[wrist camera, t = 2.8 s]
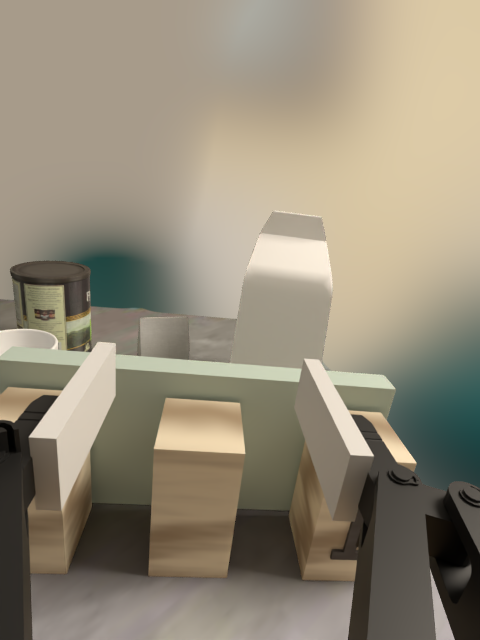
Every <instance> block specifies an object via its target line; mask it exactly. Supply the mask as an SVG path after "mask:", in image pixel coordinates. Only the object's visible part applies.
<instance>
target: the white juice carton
mask: <svg viewBox="0 0 480 640" xmlns="http://www.w3.org/2000/svg"><path fill="white" fill-rule="evenodd" d="M189 351H190V345H189V318H188V317H150V318H140V321H139V332H138V346H137V356H144V357H157V358H169V359H182V360H189Z"/></svg>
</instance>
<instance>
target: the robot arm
mask: <svg viewBox="0 0 480 640" xmlns="http://www.w3.org/2000/svg"><path fill="white" fill-rule="evenodd" d="M115 396H116V343H105V342H98V343H97V344H96V346H95V347H94V349H93V350H92V351H91V353H90V354H89V355H88V357H87V358H86V359H85V361H84V362H83V364H82V365H81V366H80V368H79V369H78V370H77V372H76V373H75V375H74V376H73V377H72V379H71V380H70V381H69V383H68V384H67V385H66V387H65V388H64V390H63V391H62V392H61V394H60V395H59V396H55V395H42V396H41V397H39V398H37V399H36V400H34V401H32V402H31V403H30V404H29V406H28V407H27V408H26V409H25V410H24V413H22V414H21V415H20V416H19V418H18V420H16V421H15V422H12V421H7V420H0V640H32V612H31V581H30V550H29V519H28V509H27V508H28V507H29V505H30V503H31V502H32V500H33V498H34V496H35V506H36V510H54V511H62V508H63V506H64V504H65V502H66V500H67V498H68V496H69V494H70V491H71V489H72V487H73V485H74V483H75V481H76V479H77V476H78V474H79V472H80V470H81V468H82V466H83V464H84V462H85V459H86V457H87V455H88V453H89V451H90V449H91V447H92V445H93V442H94V440H95V438H96V436H97V434H98V432H99V430H100V428H101V425H102V423H103V421H104V419H105V417H106V415H107V413H108V410H109V408H110V406H111V404H112V402H113V400H114V398H115ZM294 409H295V412H296V415H297V418H298V420H299V423H300V426H301V429H302V432H303V435H304V438H305V441H306V444H307V447H308V450H309V453H310V456H311V459H312V462H313V465H314V468H315V471H316V473H317V476H318V479H319V482H320V485H321V488H322V491H323V494H324V497H325V500H326V503H327V506H328V509H329V512H330V515H331V518H332V521H349V522H355V518H356V515H357V512H358V508H359V510H360V513H361V515H362V517H363V523H362V526H361V529H360V533H359V536H358V539H357V542H356V545H355V546H356V547H358V556H357V565H356V574H355V582H354V591H353V600H352V609H351V617H350V626H349V635H348V640H436V633H435V622H434V610H433V599H432V587H431V576H430V569H431V572H432V575H433V578H434V581H435V584H436V587H437V589H438V592H439V595H440V598H441V601H442V604H443V607H444V610H445V612H446V615H447V618H448V621H449V624H450V627H451V630H452V633H453V635H454V638H455V640H480V489H479V488H478V487H476V486H474V485H472V484H469V483H465V482H456V481H455V482H453V483H451V484H450V485H449V487H448V490H447V491H443V490H440V489H436V488H432V487H429V486H426V485H424V484H422V482H421V480H420V478H419V477H418V476H417V475H416V474H415V473H414V472H413V471H411V470H410V469H409V468H407V467H404V466H402V465H400V464H398V463H397V462H396V460H395V459H394V457H393V456H392V454H391V452H390V451H389V449H388V448H387V446H386V445H385V443H384V441H382V438H381V437H380V435H379V434H378V433H377V430H376V429H375V427H374V426H373V424H372V423H371V422H370V421H369V420H368V419H366V418H365V417H364V416H363V415H356V414H350V413H349V411H348V409H347V408H346V406H345V404H344V402H343V401H342V399H341V397H340V395H339V394H338V392H337V390H336V388H335V387H334V385H333V383H332V381H331V380H330V378H329V376H328V374H327V373H326V371H325V369H324V367H323V365H322V364H321V362H320V360H316V359H303V364H302V370H301V375H300V380H299V385H298V390H297V395H296V400H295V405H294Z"/></svg>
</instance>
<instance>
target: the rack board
mask: <svg viewBox="0 0 480 640" xmlns="http://www.w3.org/2000/svg"><path fill="white" fill-rule="evenodd" d="M90 353H91V352H80V351H67V350H54V349H41V348H28V347H16V346H12V347H11V348H10V349H8V350H7V351H6V352H5V353H3V354H2V355H1V356H0V395H1V394H2V393H3V392H4V391H5V390H6V389H7V388H8V387H17V388H31V389H46V390H61V391H63V390H64V388H65V387H66V385H67V384H68V383H69V381H70V380H71V379H72V377H73V376H74V375H75V373H76V372H77V370H78V369H79V368H80V366H81V365H82V364H83V362H84V361H85V359H86V358H87V357H88V355H89V354H90ZM301 370H302V369H297V368H285V367H272V366H259V365H246V364H233V363H221V362H208V361H195V360H182V359H169V358H157V357H144V356H131V355H118V354H116V396H115V398H114V400H113V402H112V404H111V406H110V408H109V410H108V413H107V415H106V417H105V419H104V421H103V423H102V425H101V428H100V430H99V432H98V434H97V436H96V438H95V440H94V442H93V445H92V447H91V449H90V460H91V494H92V503H109V504H134V505H151V503H152V480H153V457H154V446H155V442H156V438H157V433H158V429H159V425H160V421H161V416H162V412H163V408H164V404H165V399H166V398H175V399H190V400H205V401H220V402H234V403H240V407H241V416H242V426H243V436H244V445H245V460H244V466H243V473H242V480H241V486H240V493H239V499H238V506H237V509H258V510H283V511H290V507H291V502H292V498H293V493H294V489H295V484H296V479H297V475H298V470H299V466H300V461H301V456H302V452H303V447H304V443H305V438H304V435H303V432H302V429H301V426H300V423H299V420H298V418H297V415H296V412H295V409H294V405H295V400H296V395H297V390H298V385H299V380H300V375H301ZM326 373H327V374H328V376H329V378H330V380H331V381H332V383H333V385H334V387H335V388H336V390H337V392H338V394H339V395H340V397H341V399H342V401H343V402H344V404H345V406H346V408H347V409H348V410H350V411H365V412H380V413H382V415H383V416H384V418H385V419H386V420H387V417H388V414H389V410H390V407H391V404H392V401H393V397H394V394H395V391H396V389H395V388H394V387H393V385H392V384H391V383H390V382H389V381H388V380H387V378H386V377H385V376H384V375H374V374H360V373H349V372H336V371H326Z"/></svg>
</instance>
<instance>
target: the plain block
mask: <svg viewBox="0 0 480 640" xmlns="http://www.w3.org/2000/svg"><path fill="white" fill-rule="evenodd" d="M244 460H245V445H244V436H243V426H242V416H241V407H240V403H234V402H220V401H205V400H190V399H175V398H166V399H165V404H164V408H163V412H162V416H161V421H160V425H159V429H158V433H157V438H156V442H155V446H154V457H153V480H152V503H151V526H150V549H149V572H148V576H157V577H203V578H227V572H228V566H229V559H230V552H231V546H232V539H233V533H234V526H235V519H236V513H237V506H238V499H239V493H240V486H241V480H242V473H243V466H244Z"/></svg>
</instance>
